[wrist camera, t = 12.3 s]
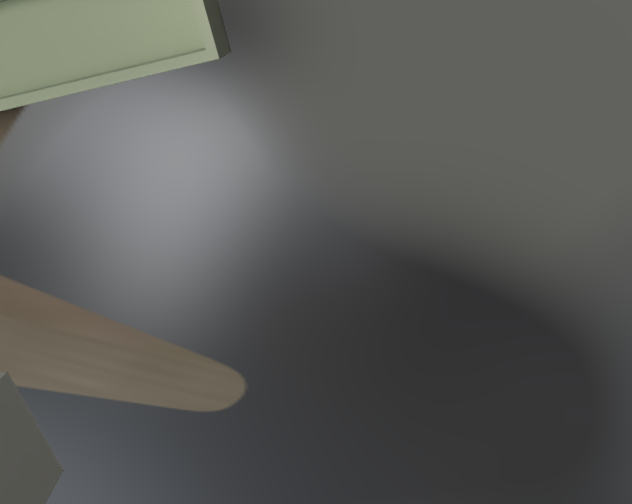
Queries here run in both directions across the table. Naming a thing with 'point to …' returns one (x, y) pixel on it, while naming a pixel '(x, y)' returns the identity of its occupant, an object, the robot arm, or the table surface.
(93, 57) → the organizer tray
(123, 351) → the table surface
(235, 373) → the table surface
